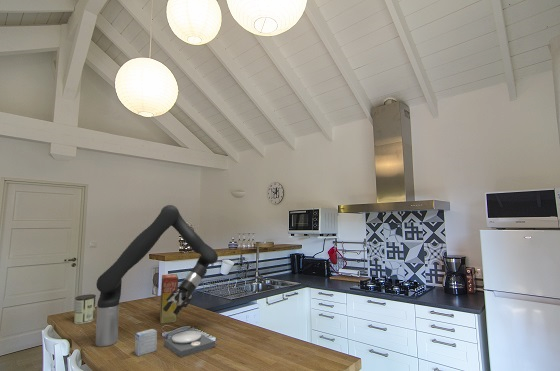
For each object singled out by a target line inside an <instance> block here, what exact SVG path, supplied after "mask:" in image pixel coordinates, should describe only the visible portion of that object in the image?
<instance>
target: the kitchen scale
mask: <svg viewBox="0 0 560 371" xmlns="http://www.w3.org/2000/svg"><path fill="white" fill-rule="evenodd" d="M163 346H164V347H166V348H167V349H169V350H170V351H171V352H173V353H174V354H175V355H176V356H177V357H179V358H184V357H187V356H190V355H194V354H197V353H201V352H203V351H206V350H210V349H213V348H215V346H216V345H215V341H214V340H212V339H211V338H209V337H208V336H205V335H203V334H202V333H201V332H200V331H197V330H196V331H195V330H186V331H180V332H177V333H176V334H173V335H172V337H170V338H166V339H164V342H163Z"/></svg>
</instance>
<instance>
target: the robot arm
mask: <svg viewBox="0 0 560 371" xmlns="http://www.w3.org/2000/svg"><path fill="white" fill-rule="evenodd" d="M170 227H173V228H174V229H175V231H176V232H177V233H178V234H179V235H180V237H181V238H182V239H183V240H184V242H185V243H186V244H187V246H189V247H190V248H191V250H192V251H193V252H194V253H195V254H199V255H200V256H199V258H198V259H197V261H196V264H195V265H194V266H193V268H192V269H191V270H190V272H189V273H188V274H187V275H186V277H185V278H184V279H183V281H182V282H181V283H180V284H179V285H178V291H177V292H176V291H175V290H174V291H173V292H172V293H171V294H170V296H169V297H168V298H167V299H166V300H167V302H168V303H167V304H166V305H165V307H164V308H163V310H164V311H166V312H167V311H168V309H169V308H170V306H171V305H172V304H173V303H176V302H177V303H178V304H177V307H176V309H175V310H174V311H173V313H174V314H175V315H177V316H178V314H179V313H180V312H181V310H182V309H184V308H187V307H188V305H189V304H190V302H191V301H192V299H193V296H192V295H193V293H194V292H195V291H196V289H197V288H198V286H199V285H200V283H201V281H202V280H203V278H204V277H205V275H206V274H207V269H208V267H209V266H210V265H214V264H215V263H217V262H218V259H219V256H218V253H217V251H216V250H215V249H214V248H212V247H211V246H210V245H209V244H207V243H205V241H204V240H203V239H202V238H201V237H200V235H198V234H197V233H196V231H195V230H193V228H191V227H190V225H189V224H188V223H187V222H186V221H185V220H184V219H183V216H182V215H181V213H180V210H179V209H178V207H176V206H174V204H168V205H165V206H163V207H162V208H161V211H160V213H159V214H158V215H157V217H156V218H155V219H154V221H153V222H152V223H151V224H150V225H149V226H147V227H146V228H145V229H144V230H142V231H141V232H140V233H139V234H138V235H137V236H136V237H135V238H134V239H133V240H132V241H131V242H130V243H129V244H128V246H126V248H125V250H124V251H122V253H121V254H120V256H119V257H118V258H117V259H116V260H115V262H114V263H113V264H112V265H110V267H109V268H107V269H106V270H105V271H104V272H103V273H102V274H101V275H100V276H99V277H98V278H97V280H96V289H97V290H98V291H99V293H100V294H99V298H98V300H97V305H96V308H97V309H96V323H95V324H96V326H95V328H96V329H95V347H100V348H101V347H107V346H108V347H109V346H112V345H114V344H116V343H118V340H119V339H118V336H119V335H118V334H119V333H118V332H119V314H120V313H119V312H120V300H121V296H122V283H123V282H122V279H123V278H124V276H125V275H126V274H127V273H128V271H130V270H131V269H132V268H133V267H135V266H136V264H138V263H139V262H140V261H141V260H143V258H144V257H145V256H146V255H147V254H148V253H149V252H150V251H151V250H152V249H153V247H154V246H155V245H156V243H157V242H158V241H159V239H160V238H161V236H162V235H163V234H164V233H165V232H166V231H167V230H169V228H170ZM170 298H171V299H170ZM174 298H175V299H174ZM169 299H170V300H169ZM172 300H173V301H172Z"/></svg>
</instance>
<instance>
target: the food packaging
mask: <svg viewBox="0 0 560 371" xmlns="http://www.w3.org/2000/svg"><path fill="white" fill-rule="evenodd" d="M160 285H161V286H160V287H161V288H160V305H159V306H160V307H159V322H160V325H161V324H162V325H163V324H170V323H177V321H178V320H177V319H178V317H177V316H178V314H177V315H175V314H174V313H173V311H174V310H175V309H176V307H177V306H178V302H176V303H173V304H172V305H171V306H170V308H169V309H168V311H167V312H166V311H164V310H163V308H164V307H165V305H166V304H167V303H168V302H167V300H166V299H167V298H168V297H169V296H170V294H171V293H172V292H173V291H174V290H175V291H176V292H177V291H178V290H179V276H178V274H173V273H172V274H162V275H161V283H160ZM170 299H171V298H170ZM170 299H169V300H170ZM174 299H175V298H174ZM172 301H173V300H172Z"/></svg>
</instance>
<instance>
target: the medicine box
mask: <svg viewBox="0 0 560 371" xmlns="http://www.w3.org/2000/svg"><path fill="white" fill-rule="evenodd" d="M157 337H158V331H157V330H156V329H154V328H150V329H146V330H142V331H138V332H136V333H135V337H134V338H135V340H134V354H135V356H137V357H141V356H143V355H147V354H150V353H153V352H154V353H155V352H156V351H157V341H158V338H157Z"/></svg>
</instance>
